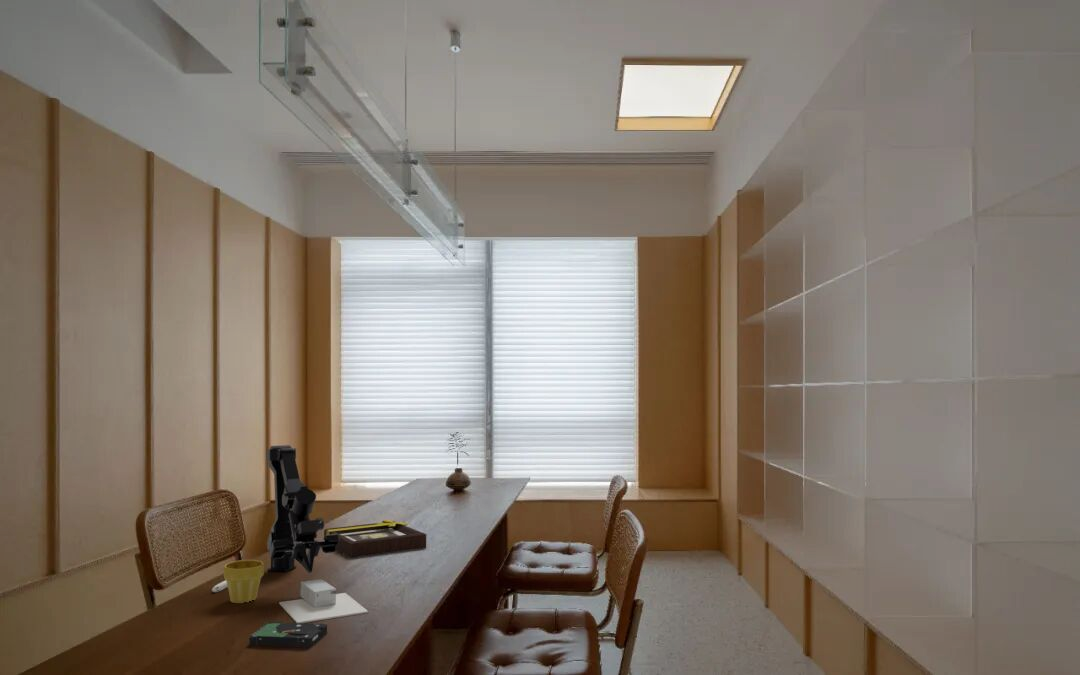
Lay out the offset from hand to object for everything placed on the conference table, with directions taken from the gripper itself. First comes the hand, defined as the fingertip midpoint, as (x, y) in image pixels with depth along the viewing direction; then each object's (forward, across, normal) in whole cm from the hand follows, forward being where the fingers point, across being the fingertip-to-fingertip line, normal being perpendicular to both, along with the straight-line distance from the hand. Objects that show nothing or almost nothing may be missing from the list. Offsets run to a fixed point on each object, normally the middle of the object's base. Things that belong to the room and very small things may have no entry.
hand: (310, 571), depth 217 cm
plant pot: (+1, -17, +9) cm, 19 cm away
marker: (-12, -18, +22) cm, 30 cm away
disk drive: (+29, -13, -18) cm, 37 cm away
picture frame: (-34, +38, +44) cm, 67 cm away
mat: (+14, 0, -5) cm, 15 cm away
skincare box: (+3, 0, +2) cm, 4 cm away
